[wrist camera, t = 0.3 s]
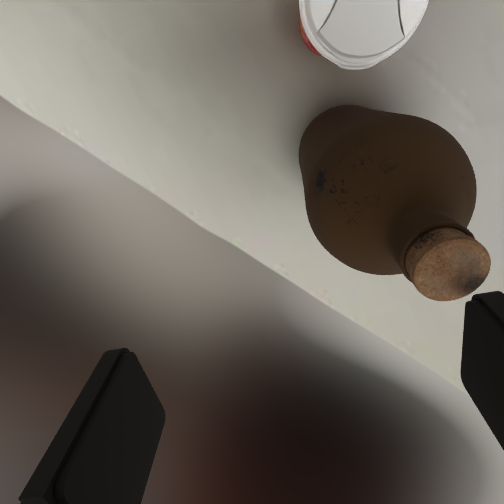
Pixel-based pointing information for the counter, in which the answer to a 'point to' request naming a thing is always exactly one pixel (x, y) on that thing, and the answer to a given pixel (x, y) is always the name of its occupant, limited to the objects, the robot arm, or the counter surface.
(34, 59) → the counter surface
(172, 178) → the counter surface
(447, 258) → the olive oil
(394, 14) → the paper cup
